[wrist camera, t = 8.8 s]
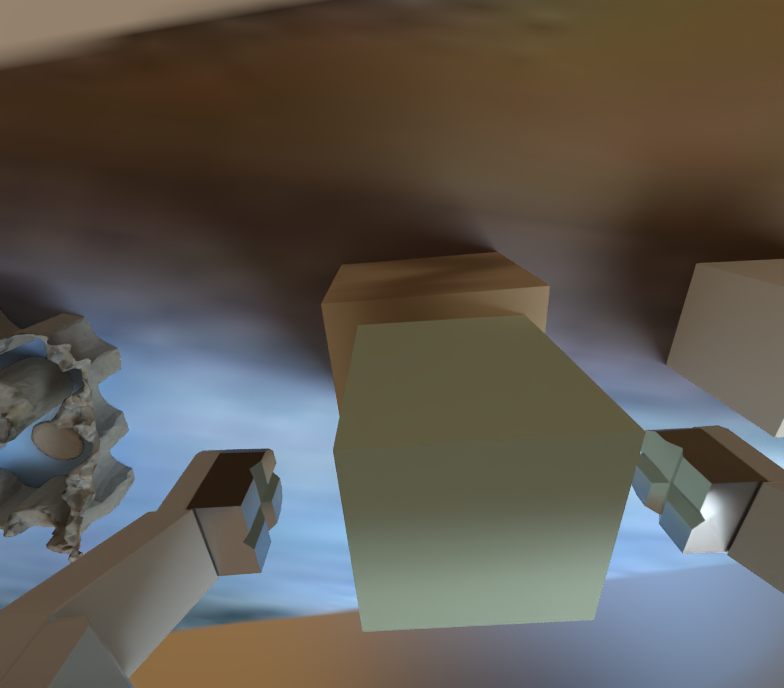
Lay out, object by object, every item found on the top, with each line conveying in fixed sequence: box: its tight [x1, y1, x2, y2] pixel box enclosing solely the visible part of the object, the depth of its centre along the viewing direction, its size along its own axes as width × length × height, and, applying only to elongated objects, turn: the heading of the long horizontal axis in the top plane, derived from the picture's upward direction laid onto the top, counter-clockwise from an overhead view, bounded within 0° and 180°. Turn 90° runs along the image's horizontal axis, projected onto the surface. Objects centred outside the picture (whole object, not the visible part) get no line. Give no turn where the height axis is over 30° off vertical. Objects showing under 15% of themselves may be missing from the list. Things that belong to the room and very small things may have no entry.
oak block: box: [321, 252, 550, 415], centre depth 13 cm, size 6×6×5 cm
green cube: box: [333, 315, 646, 632], centre depth 8 cm, size 4×4×5 cm
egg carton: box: [0, 310, 134, 563], centre depth 15 cm, size 11×8×4 cm
